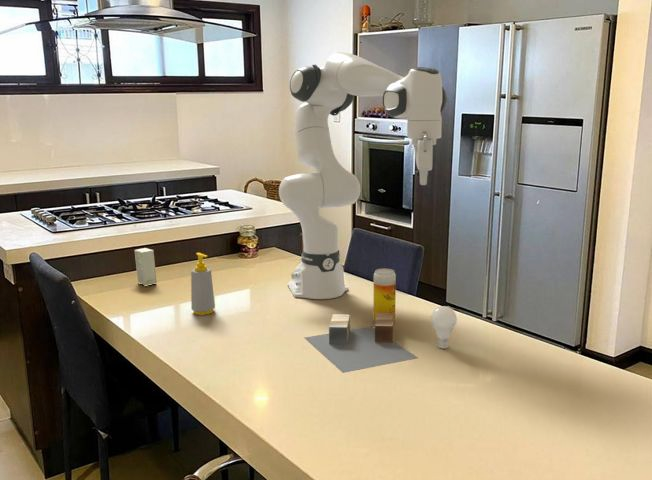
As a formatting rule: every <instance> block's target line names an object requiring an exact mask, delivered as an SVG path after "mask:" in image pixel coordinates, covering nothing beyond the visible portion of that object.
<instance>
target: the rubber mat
mask: <svg viewBox="0 0 652 480" xmlns="http://www.w3.org/2000/svg"><path fill="white" fill-rule="evenodd" d="M304 339H305V340H306V341H307V342H308V343H309V344H310V345H311V346H312V347H314V349H316V350H317V351H318V352H319V353H320V354H321V355H323V357H324V358H326V359H327V360H328V361H329V362H330V363H331V364H332V365H334V366H335V368H337V369H338V370H339V371H340V372H341V373H342V374H343V373H349V372H354V371H359V370H364V369H368V368H374V367H379V366H384V365H388V364H389V365H390V364H393V363H394V364H395V363H399V362H404V361H409V360H414V359H419V357H418V356H417V355H415V354H414V353H412V352H411V351H409V350H408V349H406V348H404V347H403V346H401V345H400V344H398V342H396V341H394V340H393V343H377V342H375V326H374V327H373V326H372V325H370V326H365V327H364V326H363V327H359V328H354V329H353V328H352V329H350V332H349V337H348V342H347V345H344V344H329V333H324V334H317V335H312V336H306V337H304Z"/></svg>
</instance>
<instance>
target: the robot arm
mask: <svg viewBox="0 0 652 480" xmlns="http://www.w3.org/2000/svg"><path fill="white" fill-rule="evenodd" d="M289 92H290V95H291V96H292V97H294V99H296V100H298V101H300V102H303V103H302V104H301V105H299V106H298V107H297V108H296V111H295V113H294V115H295V117H294V134H295V143H296V150H297V151H296V152H297V157H298V160H299V161H300V162H301V163H302V164H303V165H304V166H306V167H308V168H311V169H313V171H315V172H311V173H309V172H307V173H297V174H292V175H288V176H285V177H284V178H283V179H282V180H281V182H280V184H279V186H278V196H279V199H280V201H281V203H282V204H283V205H284V206H285V207H286V208H288V209H289V210H290V211H291V212H293V214H294V215H295V216H296V217H297V219H298V220H299V223H300V226H301V230H302V241H303V250H301V251H302V252H301V257H300V258H301V259H300V261H301V262H300V263H299V264H298V265H297V266H296V267H295V268H294V270H293V271H294V272H291V274H290V275H291V276H290V277H291V280H290V281H288V282H287V286H289V287H288V288H290V289H289V290H290V292H291V294H292V295H293V297H295V298H305V299H310V300H311V299H313V300H329V299H334V298H339V297H340V296H343V295H344V293H345V292H346V291H349V287H348V285H345V275H344V273H345V272H344V266H343V265H342V264H341V263H340V260H341V259H340V257H341V254H340V253H341V252H340V250H339V228H338V226H337V224H336V223H335V222H333V221H332V220H331V219H328V218H326V217H324V216H322V215H321V214H320V209H325V208H326V209H327V208H342V207H346V206H349V205H354V204H356V202H357V201H358V200H359V197H360V194H361V184H360V181H359V179H358V177H357V176H356V175H355V174H354V173H351V172H350V171H348V170H347V169H345V167H343V166H342V164H340V162H339V161H338V159H337V158H336V156H335V153H334V149H333V145H332V140H331V136H330V135H331V134H330V129H329V123H328V122H329V121H328V119H329V116H337V115H339V114H340V112H343V111H345V110H346V109H347V108H349V107H350V106H351V104H352V103H353V101H354V98H355V96H357V97H362V98H363V97H365V98H367V97H382V106H383V110H384V111H385V113H386V114H387V115H388V116H389V117H391V118H395V119H407V125H406V128H407V129H406V132H407V133H406V137H407V139H411V145H412V146H413V148H414V157H415V164H416V167H417V171H419V174H418V175H419V185H421V186H426V185H427V184H428V175H429V172H430V171H432V170H433V149H434V148H433V146H436V145H437V139H441V138H442V124H443V123H442V122H443V118H442V113H443V111H444V110H445V108H446V105H447V101H448V100H447V99H448V98H447V96H448V95H447V93H446V90H445V87H444V86H443V81H442V75H441V73H440V71H438V69H436V68H433V67H425V66H416V67H413V68H411V69H410V70H409V72H408V74H407V75H401V74H399V73H396V72H394V71H391V70H389V69H387V68H384V67H383V66H379V65H377V64H376V63H374V62H371V61H369V60H367V59H366V58H363V57H360V56H358V55H355V54H352V53H349V52H335V53H333V54H331V55H330V56H329V57H328V59H326V62H325V64H324V66H322V67H319V66H318V65H317V64H312V65H310V66H303V67H299V68H298V69H296V70H295V71H294V72H293V74H292V75H291V78H290V81H289Z"/></svg>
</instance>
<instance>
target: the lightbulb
mask: <svg viewBox="0 0 652 480" xmlns="http://www.w3.org/2000/svg"><path fill="white" fill-rule="evenodd" d="M457 321H458V318H457V314H456V312H455V311H454V310H453V308H451V307H449V306H446V305H443V306H437V307H436V308H434V309H433V311H432V313H431V314H430V323H431V326H432V327H433V329H434V330H435V333H436V337H437V347H438V348H439V349H442V350H445V349H448V348H449V338H450V337H451V333H452V330H454V329H455V327H456V325H457Z"/></svg>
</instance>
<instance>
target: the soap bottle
mask: <svg viewBox="0 0 652 480" xmlns="http://www.w3.org/2000/svg"><path fill="white" fill-rule="evenodd" d="M195 255H196V256H197V260H198V262H196V265H195V267H194V268H193V269H191V271H190V272H191V273H190V276H191V277H190V279H191V281H190V286H191V288H190V289H191V290H190V291H191V294H190V295H191V300H190V301H191V310H192V311H193V313H195V314H194V315H196V314H199V315H198V316H205V315H204V314H208V315H210V313H211V314H213V312H214V309H215V308H216V305H215V296H214V294H215V293H214V286H213V285H214V284H213V276H212V269H211V268H208V266H207V265H206V264H205V261H203V260H204V258H208V255H207V254H205V253H201V252H196V254H195Z"/></svg>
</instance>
